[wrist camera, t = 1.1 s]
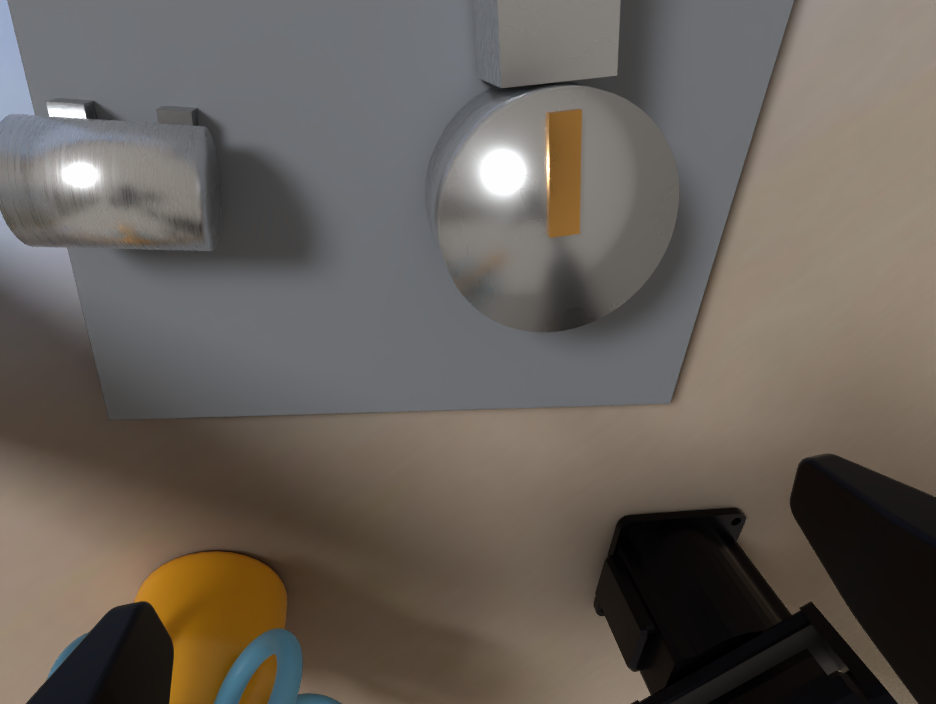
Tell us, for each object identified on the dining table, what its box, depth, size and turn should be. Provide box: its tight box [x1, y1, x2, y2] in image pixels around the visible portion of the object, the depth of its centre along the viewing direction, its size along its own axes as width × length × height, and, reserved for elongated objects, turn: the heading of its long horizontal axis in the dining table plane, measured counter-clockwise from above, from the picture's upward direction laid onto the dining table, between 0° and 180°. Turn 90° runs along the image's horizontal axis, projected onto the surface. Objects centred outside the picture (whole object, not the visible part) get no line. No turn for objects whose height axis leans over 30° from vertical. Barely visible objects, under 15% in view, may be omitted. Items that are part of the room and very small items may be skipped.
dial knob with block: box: [425, 0, 679, 333], centre depth 15 cm, size 12×6×3 cm, turn 4°
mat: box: [7, 0, 794, 420], centre depth 18 cm, size 20×15×1 cm
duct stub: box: [0, 98, 222, 251], centre depth 14 cm, size 4×3×3 cm
